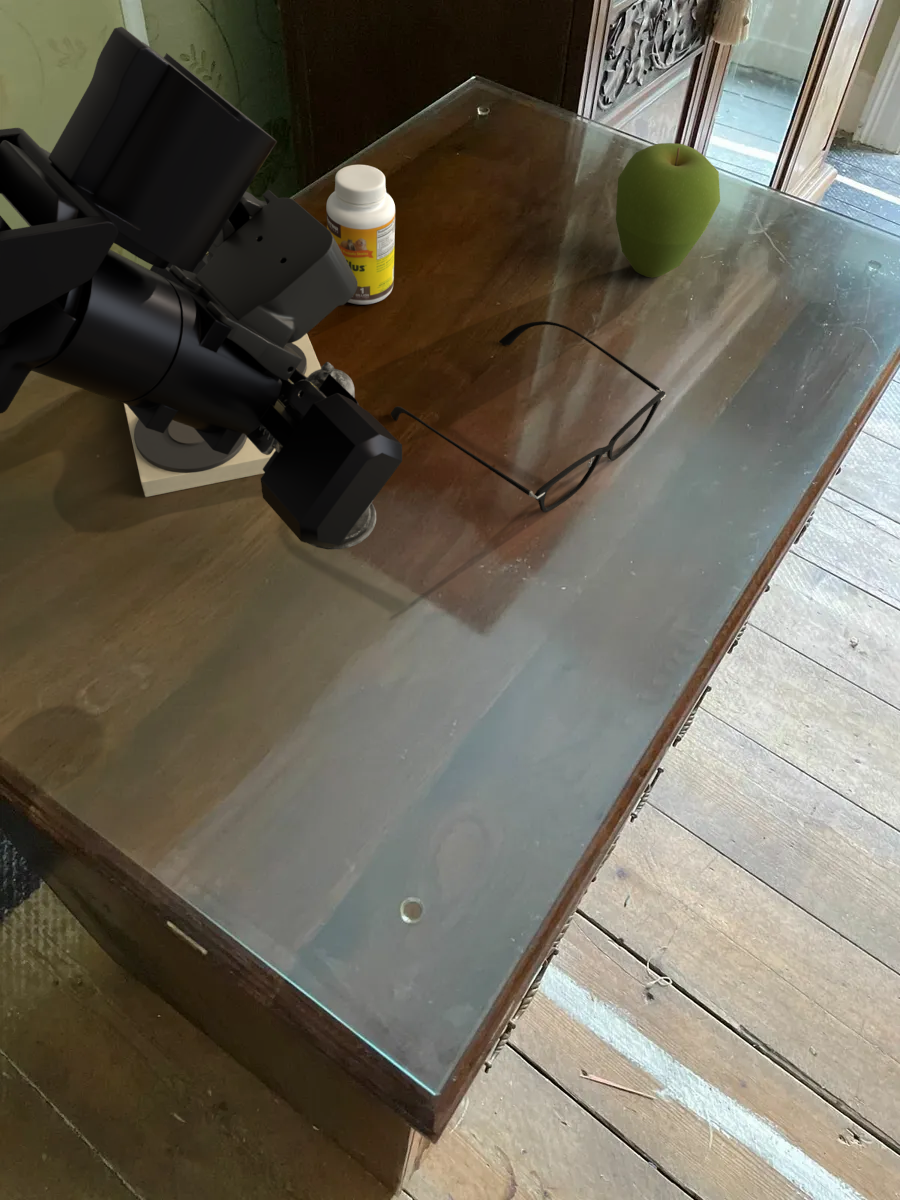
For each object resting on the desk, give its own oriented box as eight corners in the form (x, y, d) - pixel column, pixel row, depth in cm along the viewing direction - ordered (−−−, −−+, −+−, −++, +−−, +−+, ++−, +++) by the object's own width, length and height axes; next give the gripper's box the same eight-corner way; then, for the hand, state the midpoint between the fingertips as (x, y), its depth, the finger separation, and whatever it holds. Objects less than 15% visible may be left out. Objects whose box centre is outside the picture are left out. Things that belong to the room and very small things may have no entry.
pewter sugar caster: (266, 524, 59) (246, 368, 49) (325, 470, 62) (317, 313, 52) (342, 568, 57) (337, 415, 47) (399, 510, 60) (405, 356, 51)
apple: (586, 277, 86) (610, 153, 77) (622, 234, 91) (650, 111, 81) (675, 311, 84) (711, 186, 75) (708, 264, 88) (746, 142, 79)
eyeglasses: (532, 538, 67) (539, 499, 64) (373, 426, 73) (373, 385, 70) (666, 426, 75) (678, 386, 71) (513, 333, 81) (518, 292, 77)
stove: (145, 498, 67) (139, 477, 65) (119, 379, 74) (113, 358, 73) (351, 456, 71) (351, 436, 69) (307, 347, 78) (306, 326, 76)
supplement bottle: (316, 289, 83) (309, 177, 74) (358, 262, 85) (356, 150, 77) (365, 316, 81) (364, 204, 73) (407, 287, 84) (410, 176, 75)
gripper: (367, 290, 35) (546, 408, 48) (130, 83, 43) (339, 232, 57) (205, 524, 38) (415, 574, 51) (13, 288, 46) (237, 384, 60)
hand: (350, 430), depth 55 cm, fingers closed on pewter sugar caster, 3 cm apart
